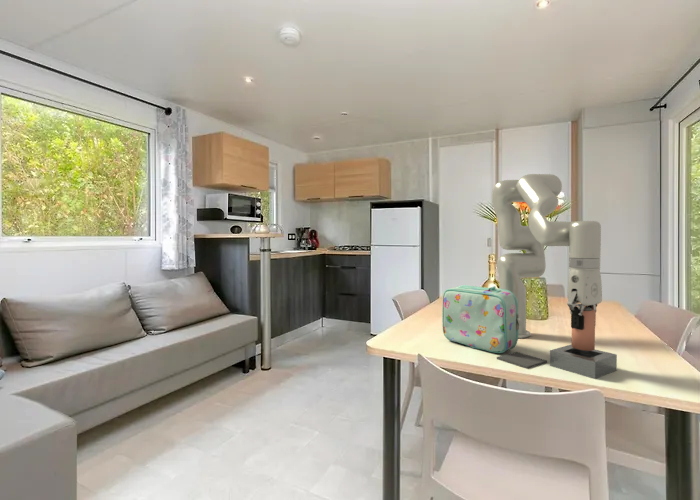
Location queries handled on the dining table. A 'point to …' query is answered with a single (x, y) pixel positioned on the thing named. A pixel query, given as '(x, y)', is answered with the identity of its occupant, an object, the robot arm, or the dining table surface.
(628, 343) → the dining table surface
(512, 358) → the mat
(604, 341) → the dining table surface
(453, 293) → the lunch box
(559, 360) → the housing
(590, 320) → the orange cylinder
